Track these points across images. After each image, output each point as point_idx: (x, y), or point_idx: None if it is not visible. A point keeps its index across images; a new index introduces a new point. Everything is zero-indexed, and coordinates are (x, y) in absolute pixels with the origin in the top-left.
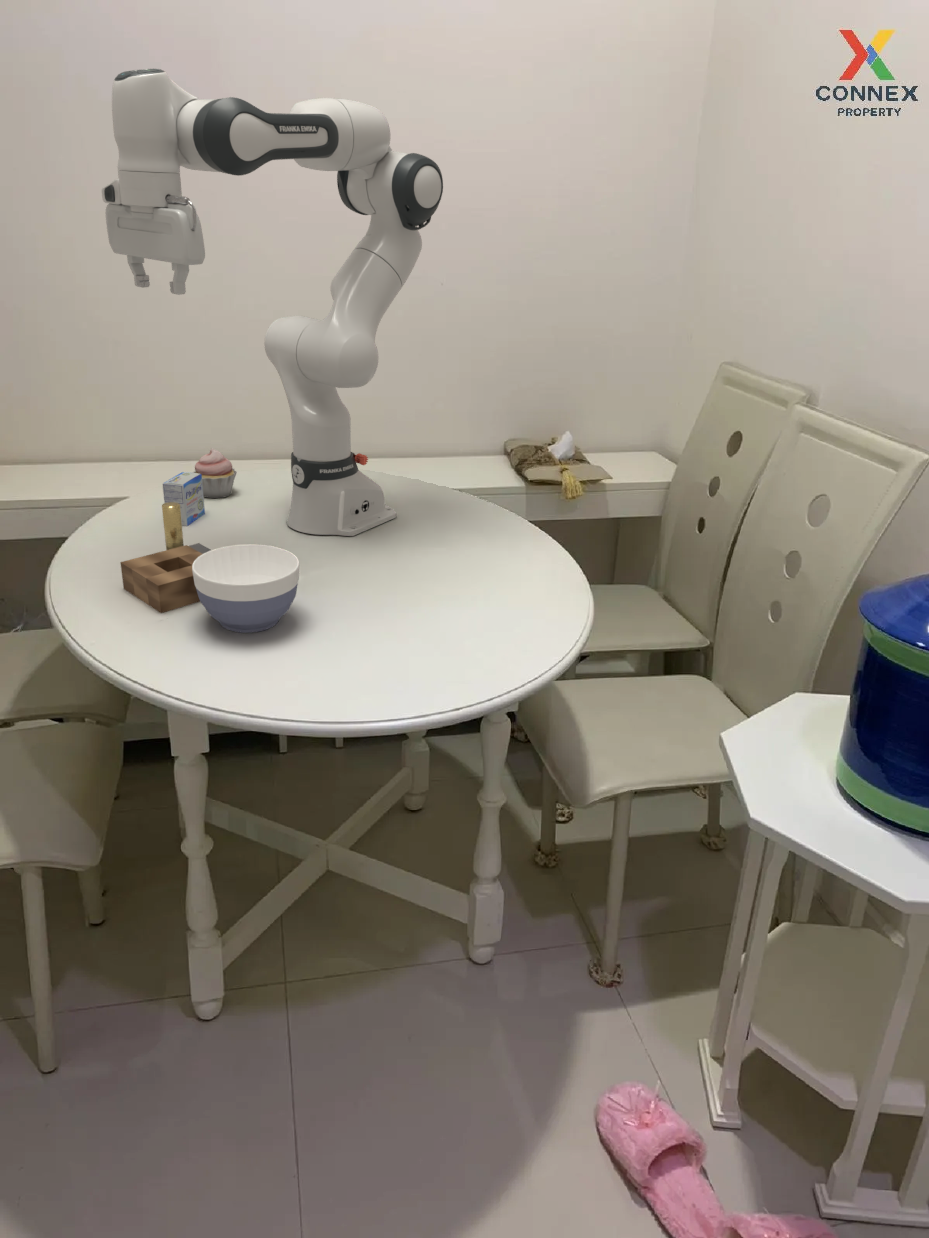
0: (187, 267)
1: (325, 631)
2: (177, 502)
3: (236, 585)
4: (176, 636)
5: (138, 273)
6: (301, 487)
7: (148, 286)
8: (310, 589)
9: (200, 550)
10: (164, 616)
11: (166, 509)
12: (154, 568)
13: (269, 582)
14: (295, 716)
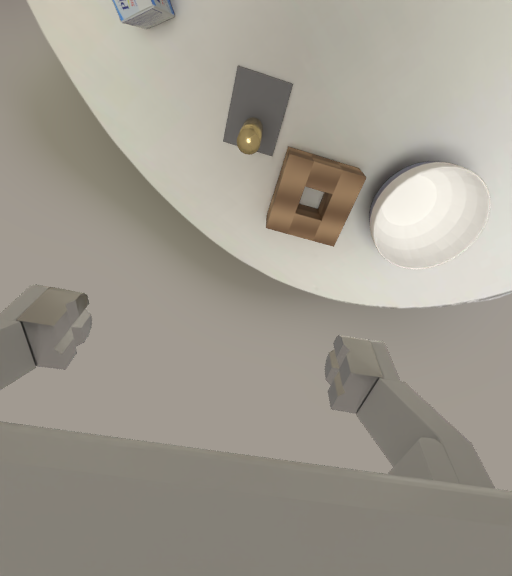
0: (475, 470)
1: (489, 180)
2: (153, 17)
3: (442, 263)
4: (364, 253)
5: (23, 361)
6: None
7: (84, 295)
8: (440, 100)
9: (258, 87)
10: None
11: (251, 153)
12: (304, 221)
13: (471, 243)
14: (500, 290)
